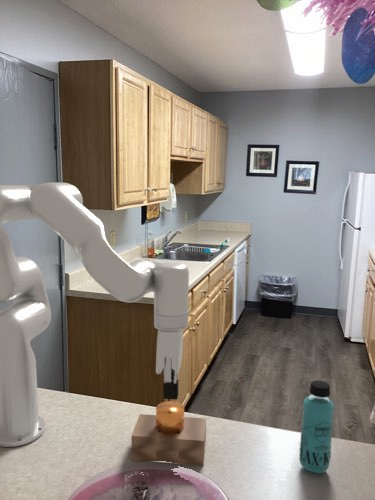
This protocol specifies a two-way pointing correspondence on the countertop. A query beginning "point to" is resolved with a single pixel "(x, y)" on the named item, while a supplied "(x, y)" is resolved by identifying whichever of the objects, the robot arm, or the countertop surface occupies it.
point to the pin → (170, 417)
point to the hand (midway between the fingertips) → (170, 397)
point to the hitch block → (169, 442)
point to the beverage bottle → (317, 428)
